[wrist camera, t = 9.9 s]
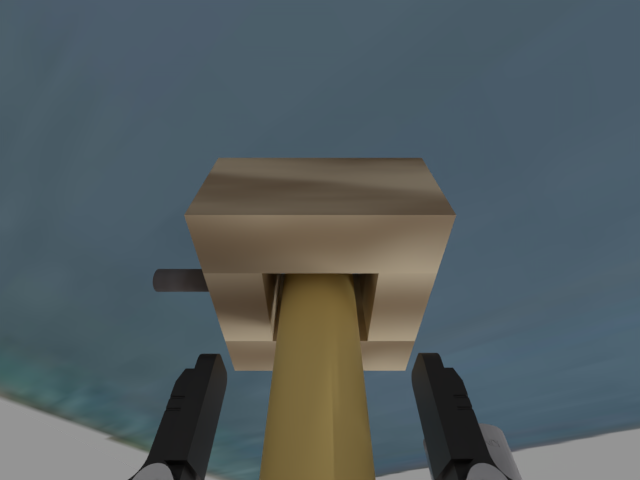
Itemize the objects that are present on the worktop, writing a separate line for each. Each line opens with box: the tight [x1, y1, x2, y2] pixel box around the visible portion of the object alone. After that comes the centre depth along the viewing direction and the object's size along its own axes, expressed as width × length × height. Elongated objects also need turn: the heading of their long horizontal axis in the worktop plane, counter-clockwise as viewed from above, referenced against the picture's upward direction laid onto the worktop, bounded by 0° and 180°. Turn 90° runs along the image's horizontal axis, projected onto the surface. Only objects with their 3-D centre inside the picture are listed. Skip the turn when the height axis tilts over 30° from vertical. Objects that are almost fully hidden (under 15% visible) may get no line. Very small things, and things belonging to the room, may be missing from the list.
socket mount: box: [153, 158, 456, 371], centre depth 17 cm, size 11×14×5 cm
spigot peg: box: [259, 273, 376, 480], centre depth 13 cm, size 4×4×14 cm
